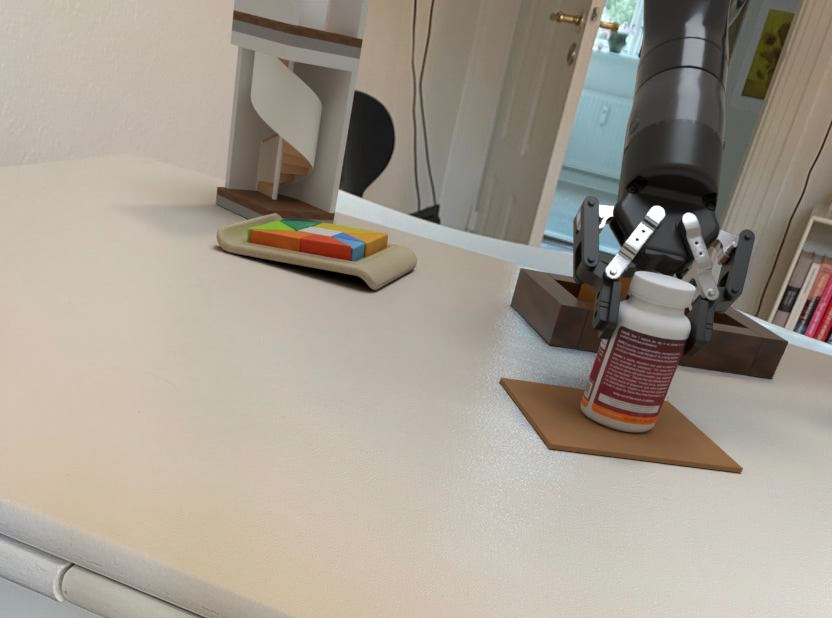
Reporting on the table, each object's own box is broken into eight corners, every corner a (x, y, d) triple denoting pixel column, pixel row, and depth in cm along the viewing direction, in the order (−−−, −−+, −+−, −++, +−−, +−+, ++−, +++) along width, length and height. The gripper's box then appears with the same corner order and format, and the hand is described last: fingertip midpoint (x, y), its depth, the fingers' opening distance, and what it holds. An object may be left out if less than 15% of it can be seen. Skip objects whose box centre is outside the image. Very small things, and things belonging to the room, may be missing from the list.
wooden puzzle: (275, 229, 112) (279, 199, 110) (418, 269, 109) (424, 238, 107) (210, 248, 98) (213, 213, 96) (372, 294, 94) (379, 259, 93)
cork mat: (666, 405, 81) (668, 401, 81) (741, 473, 70) (743, 468, 70) (499, 381, 78) (500, 377, 78) (549, 448, 67) (551, 443, 66)
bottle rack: (711, 336, 108) (725, 302, 106) (772, 379, 96) (789, 341, 94) (510, 304, 102) (520, 267, 100) (549, 345, 91) (561, 304, 89)
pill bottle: (668, 434, 73) (724, 295, 67) (611, 436, 70) (664, 290, 64) (619, 404, 77) (667, 270, 71) (563, 404, 74) (608, 265, 68)
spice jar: (602, 329, 101) (626, 258, 96) (619, 343, 97) (645, 270, 92) (561, 322, 100) (583, 250, 95) (576, 337, 96) (600, 262, 91)
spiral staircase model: (215, 203, 118) (247, -142, 99) (280, 207, 125) (322, -117, 105) (266, 227, 112) (311, -137, 93) (332, 229, 119) (386, -110, 99)
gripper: (735, 201, 76) (716, 384, 73) (569, 165, 75) (542, 348, 72) (785, 137, 68) (767, 337, 65) (601, 95, 68) (574, 296, 64)
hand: (649, 342), depth 69 cm, fingers closed on pill bottle, 6 cm apart
